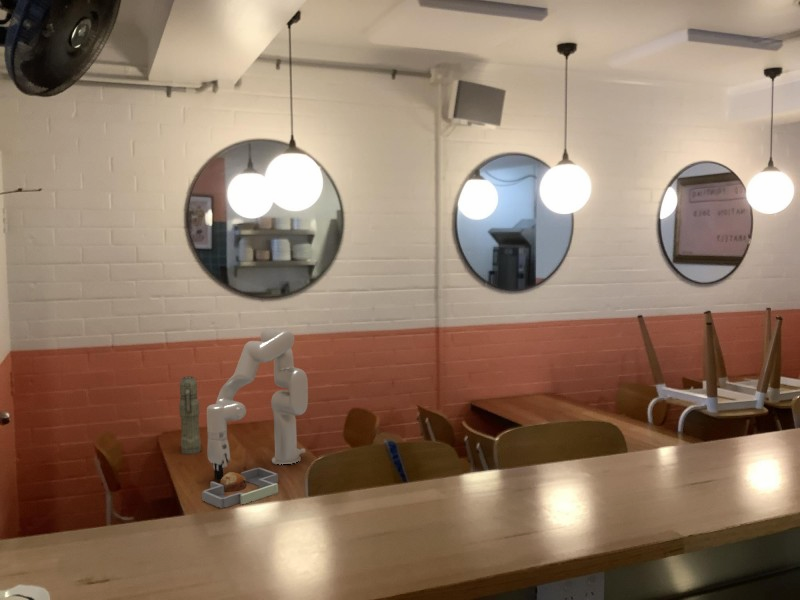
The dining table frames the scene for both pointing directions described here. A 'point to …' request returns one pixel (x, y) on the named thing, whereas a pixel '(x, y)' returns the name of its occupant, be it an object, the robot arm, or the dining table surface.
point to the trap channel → (253, 476)
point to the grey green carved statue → (189, 416)
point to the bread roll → (233, 482)
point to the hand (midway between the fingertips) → (219, 479)
